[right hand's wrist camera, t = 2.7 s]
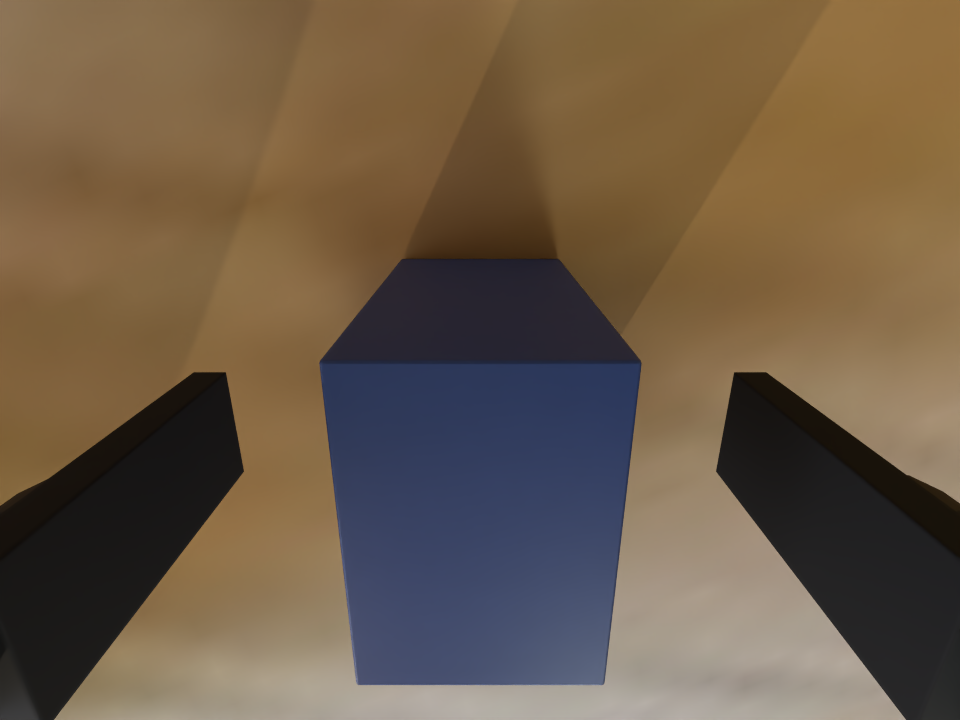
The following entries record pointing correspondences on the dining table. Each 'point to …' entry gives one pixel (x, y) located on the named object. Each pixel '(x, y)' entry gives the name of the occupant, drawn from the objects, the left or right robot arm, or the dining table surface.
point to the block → (480, 474)
